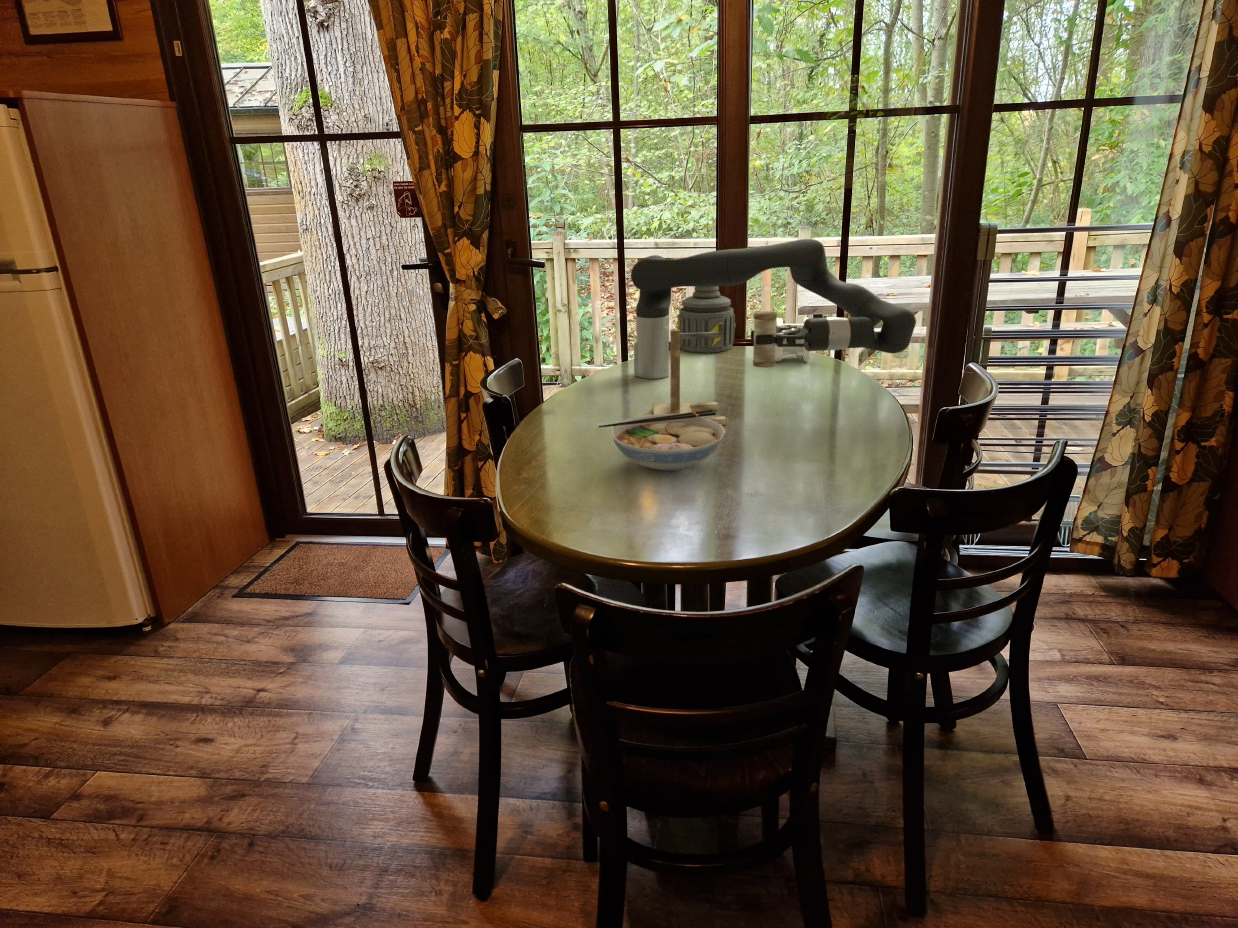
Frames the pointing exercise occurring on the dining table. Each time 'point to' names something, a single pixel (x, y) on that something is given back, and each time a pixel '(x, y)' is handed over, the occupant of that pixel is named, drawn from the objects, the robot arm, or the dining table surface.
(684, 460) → the ramen bowl
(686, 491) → the dining table surface
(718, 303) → the decorative lamp
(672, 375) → the hook stand
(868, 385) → the dining table surface
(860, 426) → the dining table surface
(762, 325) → the cord spool
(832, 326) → the robot arm
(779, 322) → the cable organizer
